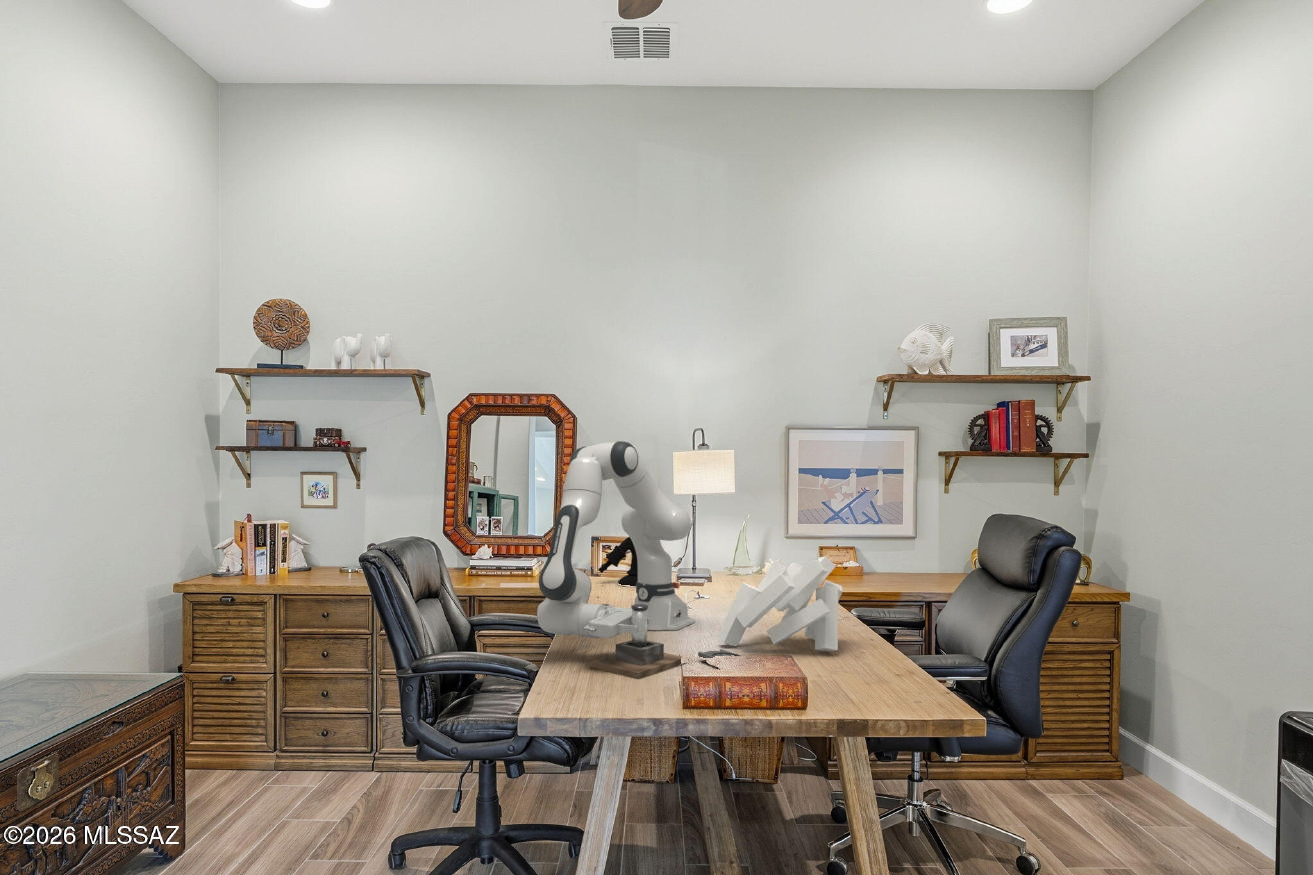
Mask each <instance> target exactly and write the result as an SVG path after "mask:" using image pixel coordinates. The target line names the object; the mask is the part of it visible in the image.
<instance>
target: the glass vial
mask: <svg viewBox="0 0 1313 875" xmlns="http://www.w3.org/2000/svg"><path fill="white" fill-rule="evenodd" d="M630 609H632V625H638V631H637V632H636V633H631V640H632V646H634V647H638V648H644V647H647V641H648V630H647V609H648V605H645V604H635V605H634V604H631V608H630Z"/></svg>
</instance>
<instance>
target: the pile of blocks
mask: <svg viewBox="0 0 1313 875" xmlns="http://www.w3.org/2000/svg"><path fill="white" fill-rule="evenodd" d="M836 567H837V566H836V565H835V564H834V563H833V562H832V561H831V560H830V559H829V558H828V557H827V556H820V557H818V559H814V558H813V559H812V560H810V562H809V563H807V564H806V565H805V566H804V567H802V565H801V564H800V563H798V562H794V561H793V562H792V563H791V564H789V565H788V566H787V565H785V564H783V563H782V562H780V561H778V560H777V559H774V560H773V562H772V563H771V565H770V566H769V568H768V570H767V572H766V573H765V575H764V576H763V577H762V580H760V581H761V582H760V583H759V584H758V586H757V587H756V586H753V585H751V584H748V583H745V582H741V584H740V587H739V589H738V590H737V593H736V595H735V597H734V599H733V601H732V604H731V605H730V608H729V610H728V612H727V615H725V616H726V617H725V618H724V621H723V623H722V625H721V627H720V629H719V631H718V633H717V636H716V638H717V639H719V640H720V641H721V642H722V643H723V644H726V645H728V646H730V647H731V646H732V647H734V646H733V645H738V646H739V645H740V642H741V641H742V638H743V636H744V634H745V632H746V629H747V628H753V626H755V625H756V624H757V623H758V622H759V621H761V619H762V618H763V617H764V616H765V615H767V614H768V613H769V612H770V611H771V610H772V609H776V611H777V612H784V611H785V612H784V614H783V616H782V618H781V620H780V622H779V623H777V624H775V625H774V626H772V627H770V628H769V629H767V630H766V633H767V635H768V636H769V638H770V640H771V641H772V643H773V645H775V644H776V645H777V644H780V643H781V642H782V643H783V642H784V641H785V640H787V639H791V638H792V636H794V635H795V634H797V633H799V632H801V631H802V630H804V637H806V638H809V639H811V640H814V650H815V651H818V652H819V651H820V652H823V651H828V652H827V653H831V652H834V651H835V652H836V651H838V650H839V601H840V598H841V596H842V593H843V586H842V585H841V584H837V583H835V582H832V581H829V580H827V579H826V578H828V576H829V575H830V574H831V573H832V571H833V570H834V569H836ZM823 582H824V583H823ZM822 583H823V585H822V586H820V585H821V584H822ZM819 586H820V587H819ZM814 593H815V601H813V602H812V603H811V604H809V603H810V601H811V598H812V597H813V595H814Z"/></svg>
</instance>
